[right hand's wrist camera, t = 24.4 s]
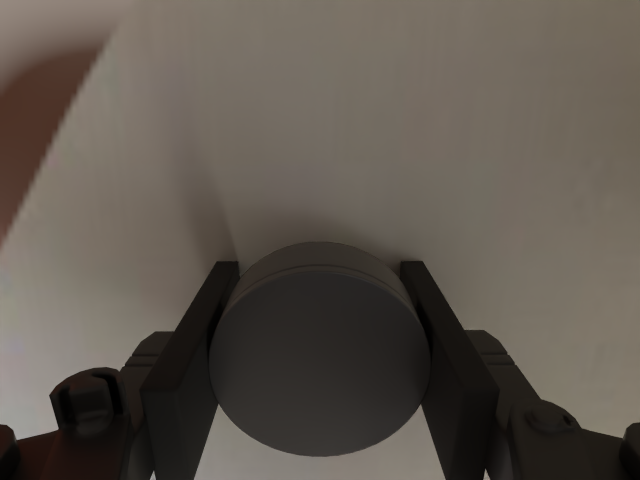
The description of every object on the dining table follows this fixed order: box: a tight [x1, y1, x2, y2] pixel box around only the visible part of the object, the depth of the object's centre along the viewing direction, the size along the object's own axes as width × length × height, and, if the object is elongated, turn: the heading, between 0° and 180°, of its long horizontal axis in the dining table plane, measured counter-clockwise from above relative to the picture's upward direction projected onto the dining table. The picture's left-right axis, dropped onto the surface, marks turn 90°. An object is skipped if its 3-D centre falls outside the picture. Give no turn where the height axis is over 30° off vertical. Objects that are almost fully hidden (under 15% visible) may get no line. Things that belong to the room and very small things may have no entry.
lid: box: [208, 242, 431, 457], centre depth 12 cm, size 6×6×2 cm
